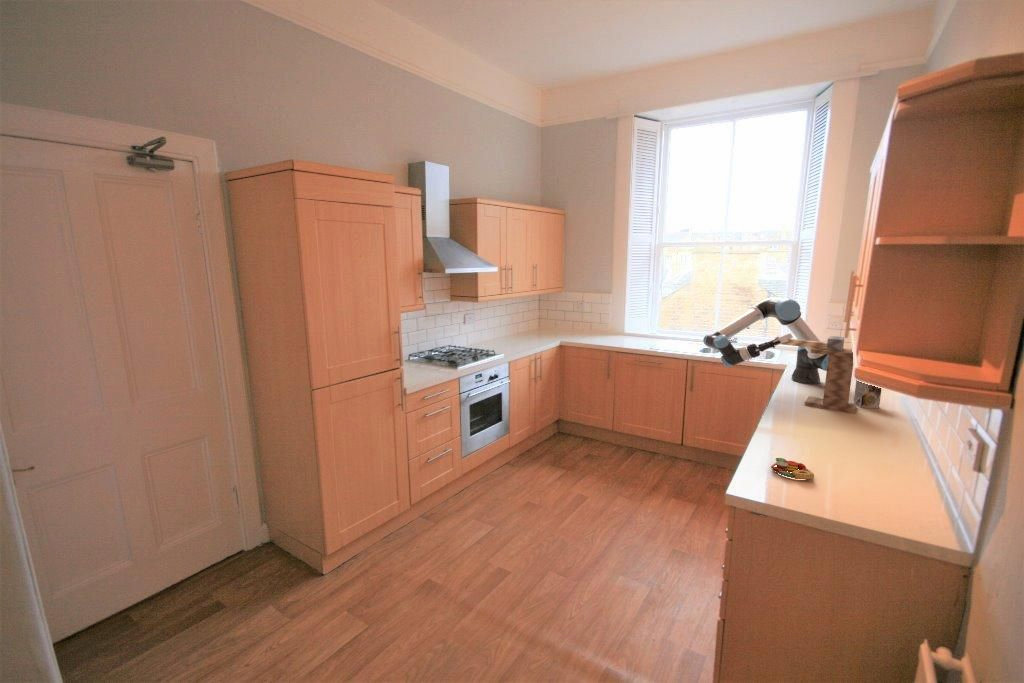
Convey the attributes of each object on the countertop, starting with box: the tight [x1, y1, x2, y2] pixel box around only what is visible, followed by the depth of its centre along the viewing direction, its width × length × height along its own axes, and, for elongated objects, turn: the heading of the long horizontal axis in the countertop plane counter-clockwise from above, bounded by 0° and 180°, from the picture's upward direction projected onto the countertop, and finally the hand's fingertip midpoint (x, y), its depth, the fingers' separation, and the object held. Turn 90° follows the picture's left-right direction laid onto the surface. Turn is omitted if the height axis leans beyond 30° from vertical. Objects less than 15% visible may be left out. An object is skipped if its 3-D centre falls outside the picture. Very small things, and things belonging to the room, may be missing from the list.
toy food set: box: [770, 457, 815, 480], centre depth 166 cm, size 13×13×3 cm
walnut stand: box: [804, 347, 858, 414], centre depth 236 cm, size 21×12×30 cm, turn 49°
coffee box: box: [853, 379, 882, 409], centre depth 237 cm, size 9×6×16 cm
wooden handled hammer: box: [774, 335, 845, 352], centre depth 241 cm, size 30×10×6 cm, turn 49°
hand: (789, 337), depth 246 cm, fingers open, 13 cm apart
